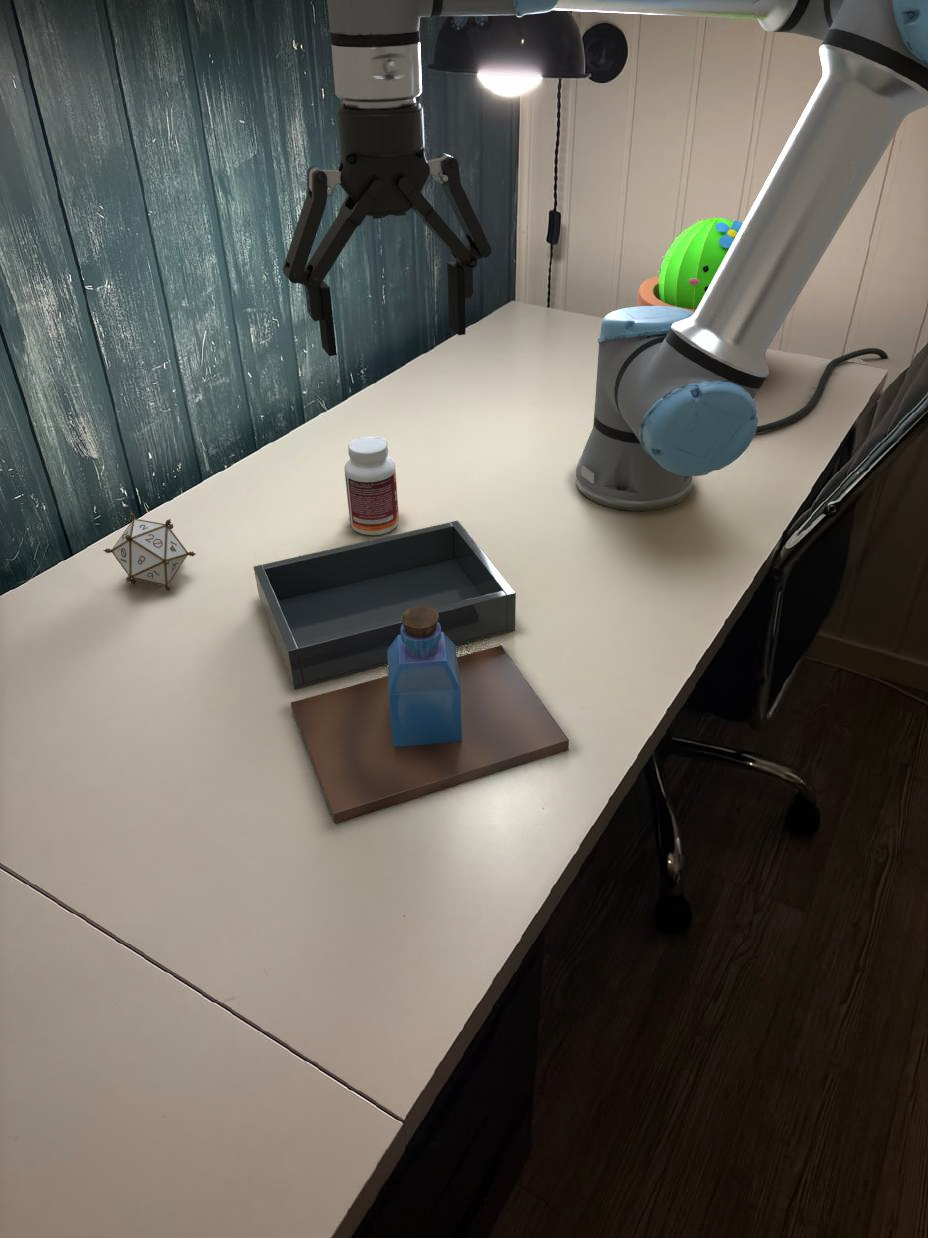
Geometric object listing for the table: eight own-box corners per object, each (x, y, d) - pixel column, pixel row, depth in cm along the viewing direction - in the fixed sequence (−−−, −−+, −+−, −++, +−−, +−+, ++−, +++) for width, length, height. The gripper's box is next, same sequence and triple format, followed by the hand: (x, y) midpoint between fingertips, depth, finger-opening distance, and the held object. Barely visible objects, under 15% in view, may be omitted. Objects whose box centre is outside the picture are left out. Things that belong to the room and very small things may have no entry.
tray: (458, 555, 109) (458, 520, 107) (515, 630, 98) (516, 592, 95) (260, 602, 102) (253, 566, 99) (294, 689, 90) (287, 651, 88)
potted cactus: (630, 348, 162) (644, 196, 147) (758, 352, 160) (785, 198, 145) (631, 399, 145) (647, 232, 130) (774, 404, 142) (807, 235, 127)
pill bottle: (408, 527, 115) (403, 447, 108) (365, 542, 112) (357, 461, 106) (384, 506, 119) (377, 428, 112) (341, 521, 116) (332, 441, 110)
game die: (181, 601, 109) (221, 538, 105) (135, 619, 101) (176, 552, 98) (126, 552, 110) (164, 488, 106) (77, 566, 102) (116, 497, 98)
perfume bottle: (391, 700, 87) (382, 598, 80) (456, 696, 88) (453, 593, 80) (393, 746, 82) (384, 641, 75) (462, 741, 83) (459, 636, 75)
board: (501, 653, 94) (501, 644, 94) (568, 749, 83) (569, 740, 83) (291, 711, 88) (290, 702, 87) (334, 823, 77) (333, 814, 76)
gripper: (245, 118, 73) (281, 373, 86) (527, 95, 80) (522, 334, 93) (227, 105, 79) (264, 347, 91) (493, 85, 86) (492, 311, 99)
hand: (394, 341), depth 92 cm, fingers open, 13 cm apart
